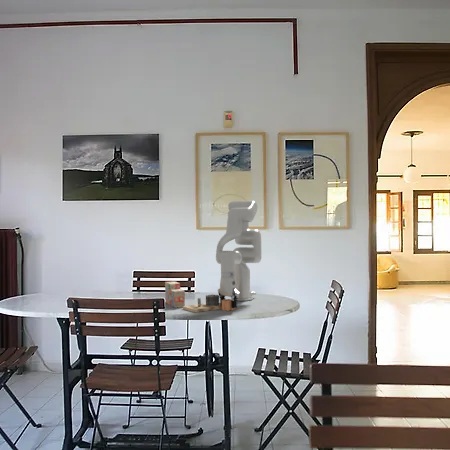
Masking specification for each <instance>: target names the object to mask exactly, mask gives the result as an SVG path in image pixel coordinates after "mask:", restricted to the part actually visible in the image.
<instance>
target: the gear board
mask: <svg viewBox="0 0 450 450" xmlns="http://www.w3.org/2000/svg"><path fill="white" fill-rule="evenodd" d="M219 297H220V296H219V294H207V295H205V302H204V303H202V301H201V297H198V298H197V303H195V304H190V305H185V306H183V307H182V310H184V311H187V312H188V311H189V312H192V313H203V312H202V311H204V312H209V310H210V311H215V310H222V306H220V298H219Z"/></svg>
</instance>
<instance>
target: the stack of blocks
mask: <svg viewBox="0 0 450 450" xmlns="http://www.w3.org/2000/svg"><path fill="white" fill-rule="evenodd" d="M164 286H165V287H164V288H165V289H164V291H165V295H164V296H165V303H166V304H168V305H169V306H171V307H172V308H173V309H175V308H176V309H177V307H178V308H183V306H186V305H185V296H186V293H185V292H186V291H185V290H184V289H182V288H181V283H180V282H177V281H175V280H174V281H165V282H164Z"/></svg>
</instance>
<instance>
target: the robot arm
mask: <svg viewBox="0 0 450 450" xmlns="http://www.w3.org/2000/svg"><path fill="white" fill-rule="evenodd" d="M227 207H228V213H227V220H226V221H227V222H226V232H225V233H224V235H223V236H221V238H220V239H219V241H218V242H217V245H216V251H215V252H216V253H215V261H216V263H217V264H220V280H219V281H220V282H219V288H218V289H217V292H218V296H219V303H220V306H222V300H224V299H226V297H229V298H230V299H232V301H231V308H235V309H236V308H237V305H238V302H239V301H241V302H243V301H246V302H247V301H252V300H253V299H254V297H253V296H255V295H257V292H256V291H251V272H250V271H251V270H250V268H249V266H248V265H247V264H259V263H261V260H262V233H261V232H260V229H259V230H258V229H255V228H253V229H252V228H251V229H250V227H249V225H250V224H249V223H252V222H253V220H254V219H255V216H256V215H257V212H258V204H257V202H256V201H255V200H233V201H229V203H228V205H227ZM232 240H234V242H235V244H237V245H238V246H239V245H240V246H241V247H235V248H234V249H233V250H223V249H224V246H225V245H226V244H228V243H229V242H232ZM242 246H243V247H242ZM244 246H245V247H244ZM249 246H251V247H249ZM237 301H238V302H237Z"/></svg>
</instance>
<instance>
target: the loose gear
mask: <svg viewBox="0 0 450 450" xmlns="http://www.w3.org/2000/svg"><path fill="white" fill-rule="evenodd" d="M231 301H232V299H231V298H227V299H226V298H225V299H224V300H222V309H221V311H235V310H236V308H231Z"/></svg>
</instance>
